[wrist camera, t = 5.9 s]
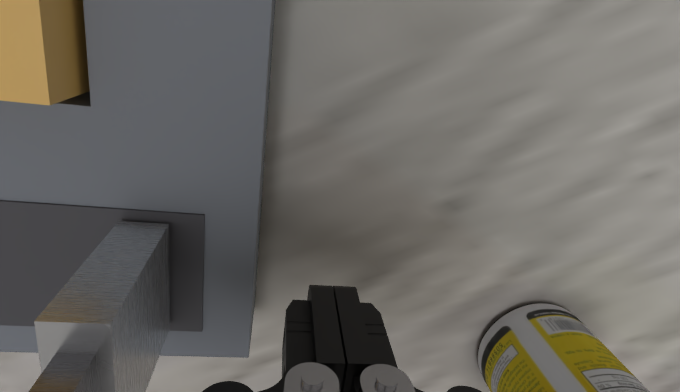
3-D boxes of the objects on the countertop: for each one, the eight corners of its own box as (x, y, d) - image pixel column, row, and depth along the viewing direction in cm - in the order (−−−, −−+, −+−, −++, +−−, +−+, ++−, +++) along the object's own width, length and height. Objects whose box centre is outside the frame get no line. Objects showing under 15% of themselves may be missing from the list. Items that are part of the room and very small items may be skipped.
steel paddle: (118, 220, 14) (-1, 362, 8) (168, 223, 14) (87, 364, 8) (125, 325, 15) (26, 510, 10) (169, 327, 15) (100, 508, 10)
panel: (-378, -509, 10) (-652, -726, 7) (298, -336, 12) (301, -447, 9) (-137, 294, 17) (-221, 348, 14) (254, 309, 19) (248, 359, 17)
